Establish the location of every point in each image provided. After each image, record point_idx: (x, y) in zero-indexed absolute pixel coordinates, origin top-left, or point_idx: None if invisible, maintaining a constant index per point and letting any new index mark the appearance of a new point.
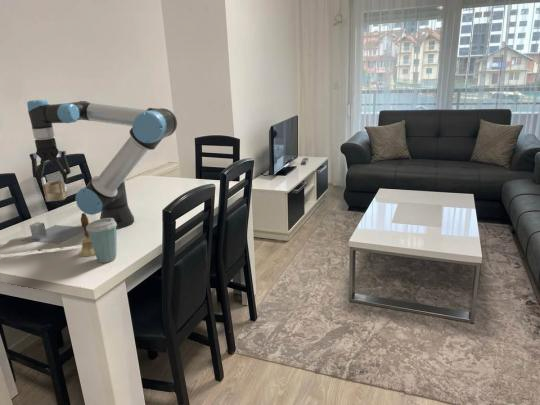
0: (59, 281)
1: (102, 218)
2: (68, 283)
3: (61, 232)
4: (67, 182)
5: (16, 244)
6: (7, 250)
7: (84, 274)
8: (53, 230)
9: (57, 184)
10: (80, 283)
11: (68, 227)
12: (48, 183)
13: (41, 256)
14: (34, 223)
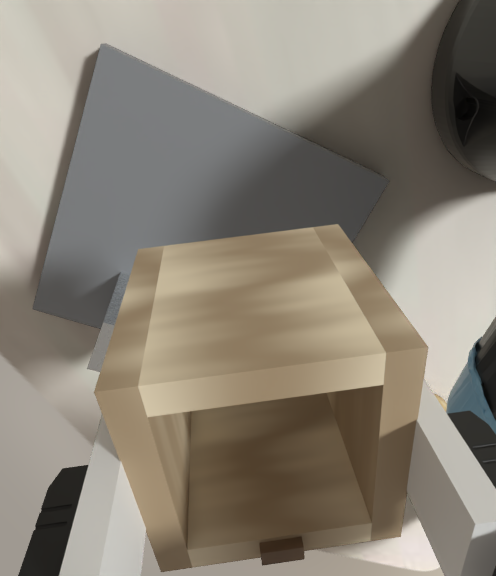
0: (349, 552)
1: (493, 155)
2: (374, 559)
3: (225, 229)
4: (470, 417)
5: (15, 302)
6: (26, 364)
7: (406, 531)
8: (152, 178)
9: (357, 538)
10: (402, 560)
11: (236, 137)
12: (159, 444)
13: None
14: (99, 341)
